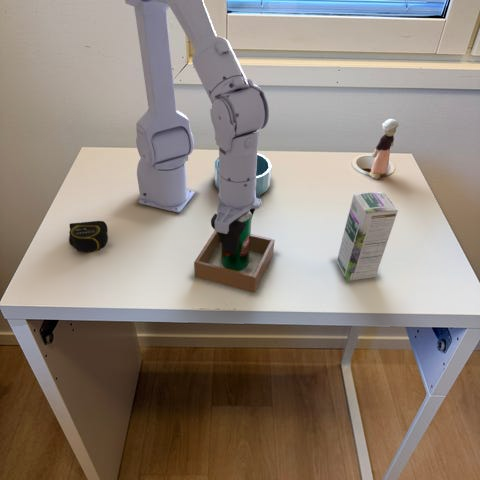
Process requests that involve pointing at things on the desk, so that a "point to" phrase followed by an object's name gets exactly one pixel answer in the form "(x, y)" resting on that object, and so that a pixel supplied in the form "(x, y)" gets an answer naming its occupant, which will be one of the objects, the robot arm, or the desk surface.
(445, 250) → the desk surface
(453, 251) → the desk surface
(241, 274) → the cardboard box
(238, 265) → the soda can
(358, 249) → the syrup box
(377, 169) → the grandmother figurine
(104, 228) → the tape measure
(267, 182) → the bowl
